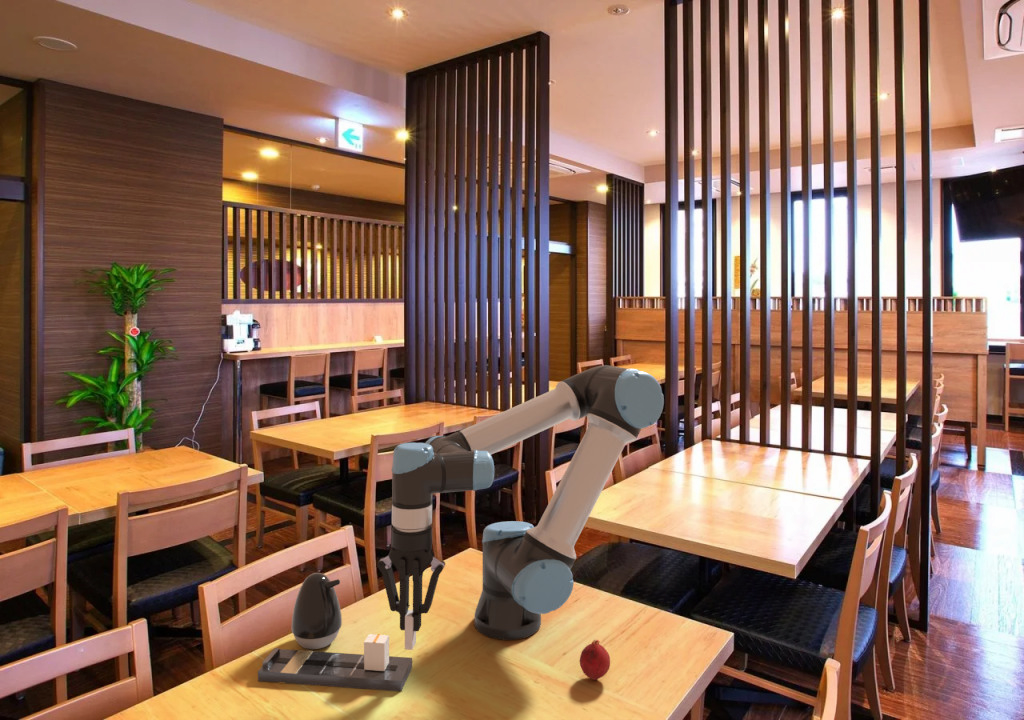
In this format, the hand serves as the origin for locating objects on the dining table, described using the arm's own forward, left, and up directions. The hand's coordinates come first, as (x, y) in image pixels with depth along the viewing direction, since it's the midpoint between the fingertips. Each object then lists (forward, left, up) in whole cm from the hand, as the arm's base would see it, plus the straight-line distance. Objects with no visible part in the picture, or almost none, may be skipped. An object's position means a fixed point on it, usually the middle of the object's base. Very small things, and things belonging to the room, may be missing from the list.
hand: (410, 645), depth 122 cm
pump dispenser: (+23, -11, -7) cm, 26 cm away
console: (+15, 0, -7) cm, 16 cm away
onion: (-35, -4, -7) cm, 36 cm away
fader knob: (+7, 0, -5) cm, 8 cm away
